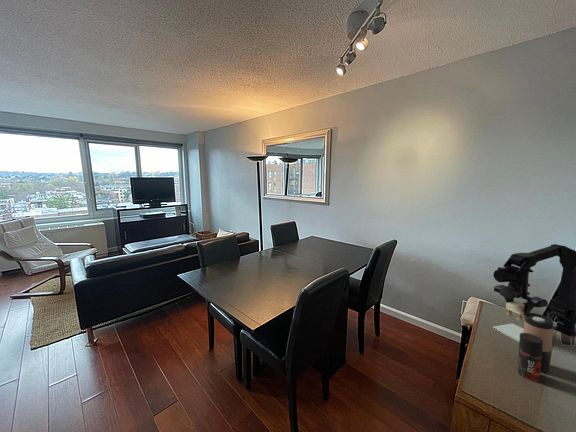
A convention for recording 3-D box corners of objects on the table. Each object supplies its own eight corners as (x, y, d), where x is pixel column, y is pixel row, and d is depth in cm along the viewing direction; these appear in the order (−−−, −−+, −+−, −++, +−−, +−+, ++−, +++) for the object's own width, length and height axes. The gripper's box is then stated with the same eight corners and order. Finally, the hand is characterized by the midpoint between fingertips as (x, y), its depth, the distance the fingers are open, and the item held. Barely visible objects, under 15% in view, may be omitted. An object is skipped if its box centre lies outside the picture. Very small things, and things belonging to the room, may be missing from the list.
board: (512, 324, 120) (512, 323, 120) (541, 339, 108) (541, 337, 108) (493, 328, 118) (493, 326, 118) (520, 342, 106) (520, 341, 106)
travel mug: (536, 359, 96) (540, 312, 94) (556, 373, 88) (560, 323, 86) (516, 358, 97) (519, 312, 95) (534, 372, 89) (537, 323, 87)
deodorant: (533, 370, 90) (535, 334, 88) (544, 382, 84) (547, 344, 83) (513, 367, 92) (516, 331, 90) (523, 379, 86) (525, 341, 85)
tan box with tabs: (515, 312, 116) (516, 301, 115) (529, 319, 110) (530, 306, 109) (505, 314, 114) (506, 302, 114) (519, 320, 109) (520, 308, 108)
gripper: (485, 276, 118) (484, 305, 120) (529, 290, 100) (527, 325, 101) (503, 273, 120) (501, 302, 122) (549, 287, 102) (547, 321, 103)
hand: (517, 312), depth 112 cm, fingers closed on tan box with tabs, 6 cm apart
